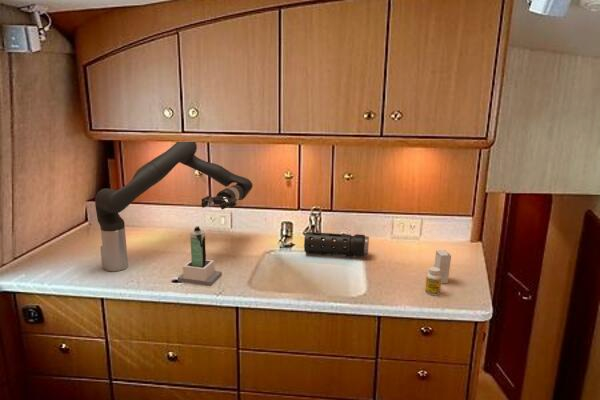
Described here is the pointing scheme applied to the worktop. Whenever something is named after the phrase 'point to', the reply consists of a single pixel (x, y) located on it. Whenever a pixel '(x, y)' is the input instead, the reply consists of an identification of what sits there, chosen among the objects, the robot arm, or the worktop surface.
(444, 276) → the skincare box
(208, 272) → the socket board
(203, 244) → the spray can
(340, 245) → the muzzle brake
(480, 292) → the worktop surface
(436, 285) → the supplement bottle
